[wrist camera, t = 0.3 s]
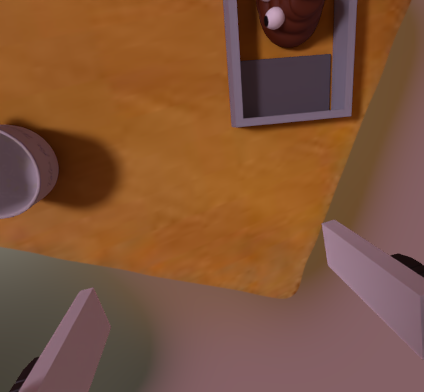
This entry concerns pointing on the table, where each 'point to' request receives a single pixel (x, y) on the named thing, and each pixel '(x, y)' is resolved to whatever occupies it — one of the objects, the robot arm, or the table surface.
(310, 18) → the poop emoji
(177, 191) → the table surface
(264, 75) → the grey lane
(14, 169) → the teacup
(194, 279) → the table surface
